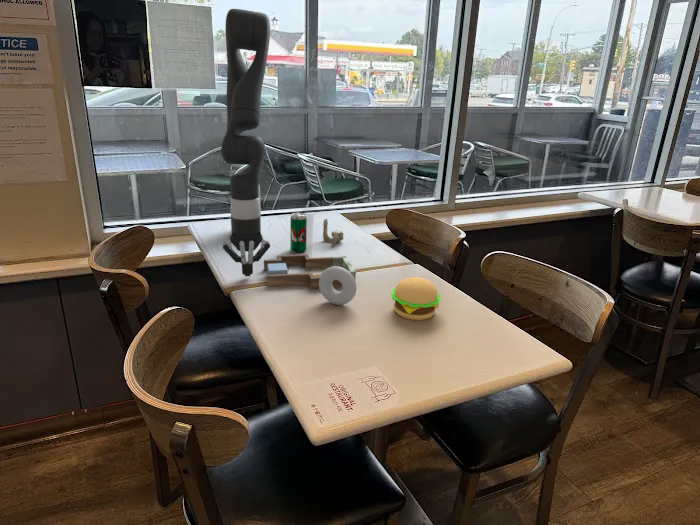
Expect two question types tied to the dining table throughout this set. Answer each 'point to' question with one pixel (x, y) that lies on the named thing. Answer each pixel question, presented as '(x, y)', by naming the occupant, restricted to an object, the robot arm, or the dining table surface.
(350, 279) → the donut
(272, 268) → the block
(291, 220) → the soda can
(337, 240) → the bone
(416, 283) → the toy cheeseburger
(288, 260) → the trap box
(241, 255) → the robot arm
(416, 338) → the dining table surface
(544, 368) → the dining table surface
